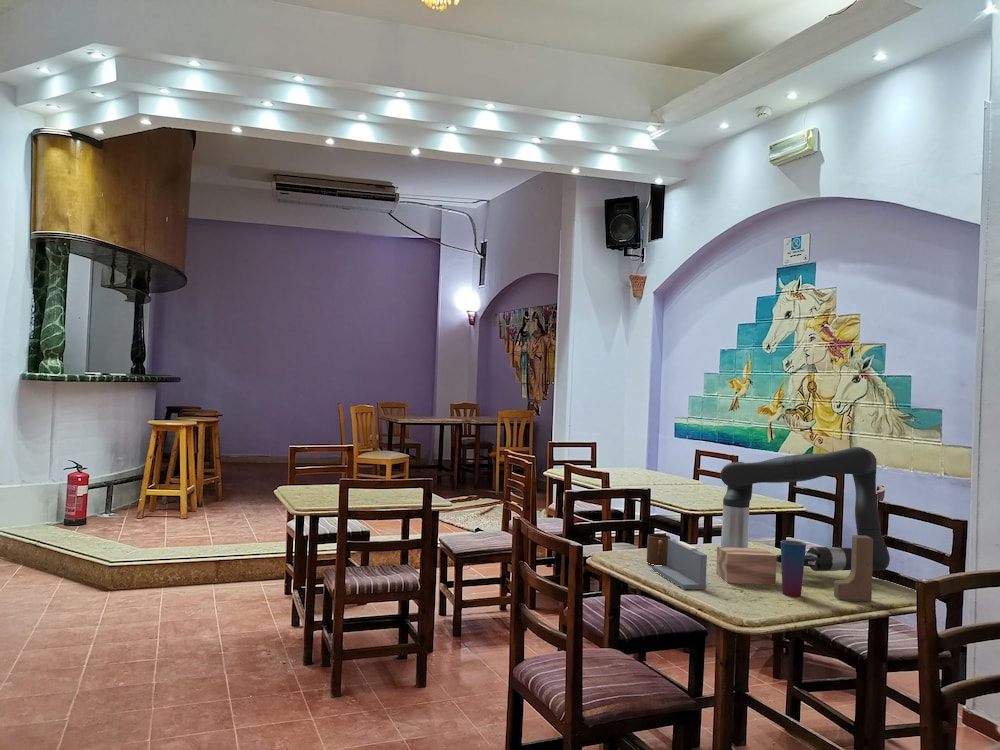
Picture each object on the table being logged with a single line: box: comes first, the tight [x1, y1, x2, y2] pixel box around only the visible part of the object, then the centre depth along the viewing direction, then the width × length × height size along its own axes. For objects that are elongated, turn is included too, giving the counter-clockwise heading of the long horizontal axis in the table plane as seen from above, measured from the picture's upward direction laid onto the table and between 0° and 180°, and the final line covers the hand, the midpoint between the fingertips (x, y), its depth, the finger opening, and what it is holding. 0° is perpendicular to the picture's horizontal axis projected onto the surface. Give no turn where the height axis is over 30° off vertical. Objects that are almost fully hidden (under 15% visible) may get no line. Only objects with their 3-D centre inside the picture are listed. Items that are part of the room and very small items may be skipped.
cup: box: [780, 539, 807, 598], centre depth 210 cm, size 7×7×15 cm
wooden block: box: [833, 534, 873, 603], centre depth 208 cm, size 9×4×18 cm, turn 82°
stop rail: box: [651, 538, 708, 590], centre depth 221 cm, size 23×7×11 cm, turn 11°
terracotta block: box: [715, 546, 777, 585], centre depth 225 cm, size 10×15×9 cm, turn 91°
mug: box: [646, 533, 671, 566], centre depth 239 cm, size 12×8×9 cm, turn 173°
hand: (776, 558), depth 227 cm, fingers closed
